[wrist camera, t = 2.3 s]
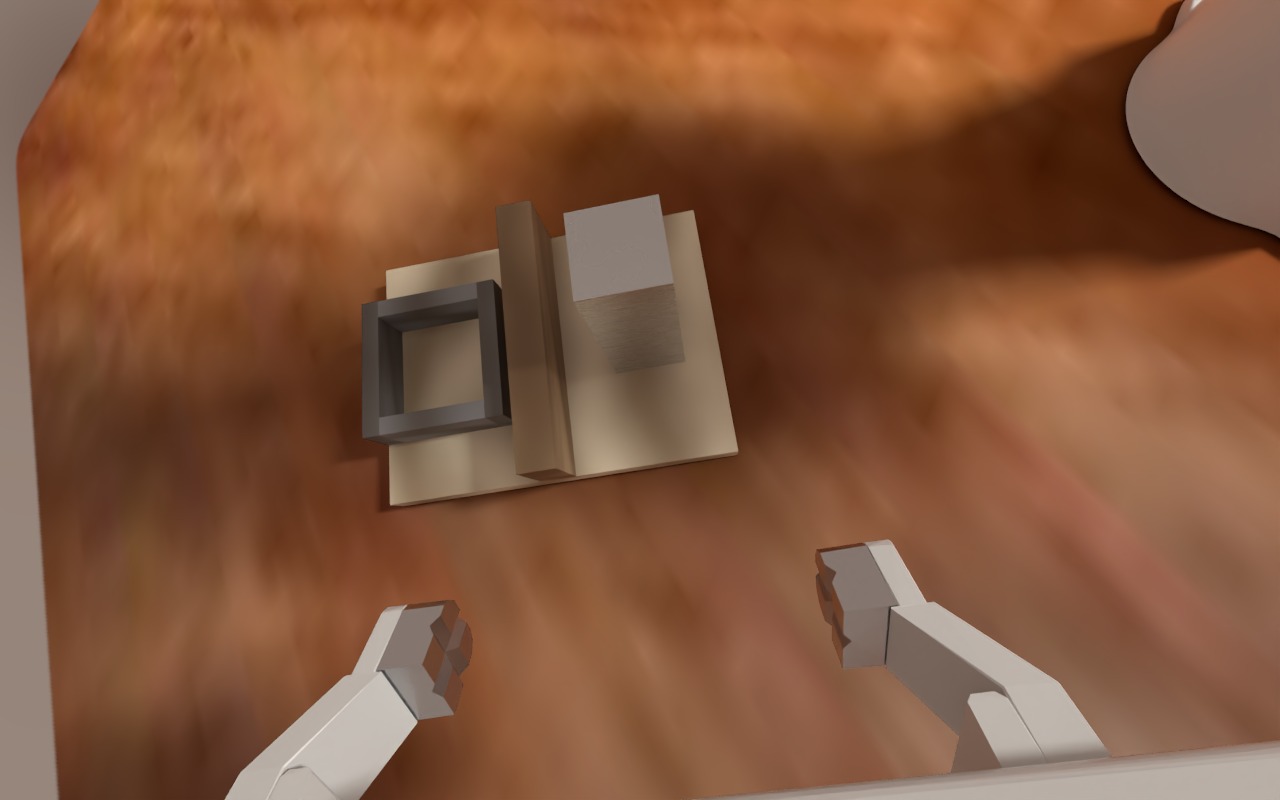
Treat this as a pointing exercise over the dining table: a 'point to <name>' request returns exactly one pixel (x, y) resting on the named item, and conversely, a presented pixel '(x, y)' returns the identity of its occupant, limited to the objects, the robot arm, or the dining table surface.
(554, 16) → the dining table surface
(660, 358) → the grey square block
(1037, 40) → the dining table surface
